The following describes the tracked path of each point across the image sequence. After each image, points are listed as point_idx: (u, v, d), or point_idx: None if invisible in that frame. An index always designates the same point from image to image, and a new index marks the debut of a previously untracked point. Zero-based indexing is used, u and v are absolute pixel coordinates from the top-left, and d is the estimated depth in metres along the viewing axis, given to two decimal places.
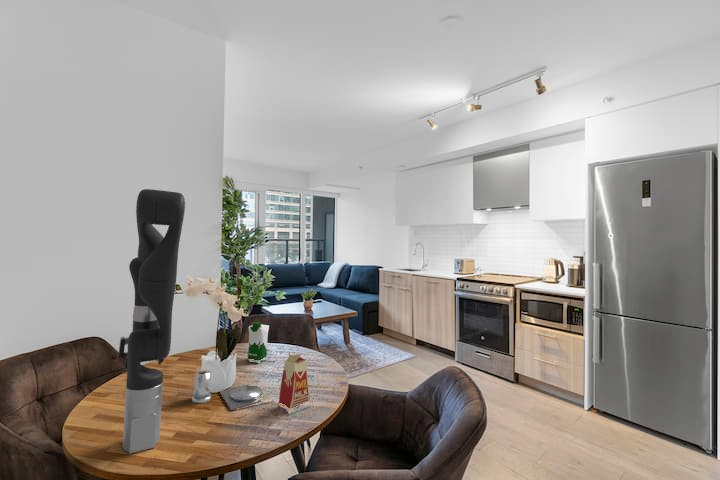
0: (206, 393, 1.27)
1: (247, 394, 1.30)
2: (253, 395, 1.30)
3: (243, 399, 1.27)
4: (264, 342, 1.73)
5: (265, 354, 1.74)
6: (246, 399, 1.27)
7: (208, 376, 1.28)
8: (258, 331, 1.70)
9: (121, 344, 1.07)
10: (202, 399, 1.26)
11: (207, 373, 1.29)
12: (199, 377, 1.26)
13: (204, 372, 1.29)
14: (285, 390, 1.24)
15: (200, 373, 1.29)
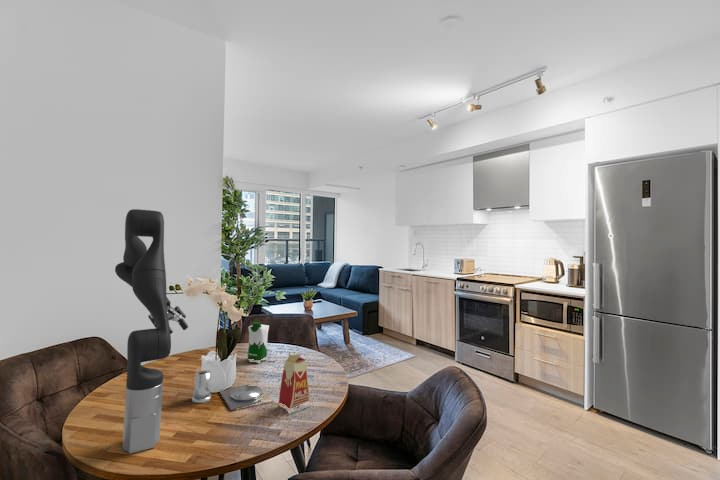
0: (206, 393, 1.27)
1: (247, 394, 1.30)
2: (253, 395, 1.30)
3: (243, 399, 1.27)
4: (264, 342, 1.73)
5: (265, 354, 1.74)
6: (246, 399, 1.27)
7: (208, 376, 1.28)
8: (258, 331, 1.70)
9: None
10: (202, 399, 1.26)
11: (207, 373, 1.29)
12: (199, 377, 1.26)
13: (204, 372, 1.29)
14: (285, 390, 1.24)
15: (200, 373, 1.29)
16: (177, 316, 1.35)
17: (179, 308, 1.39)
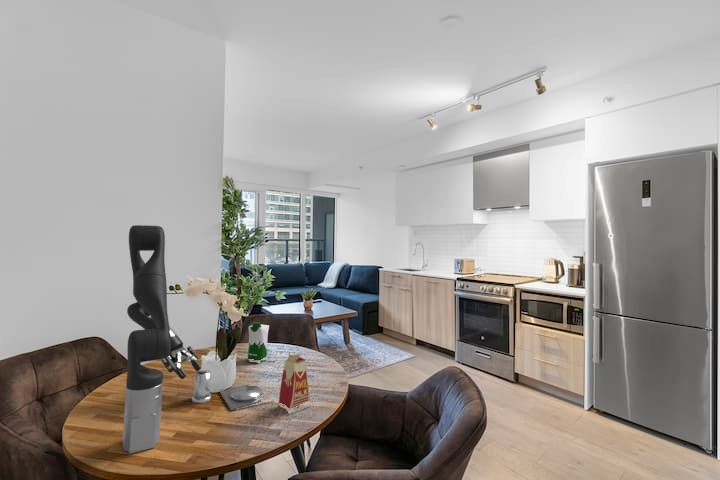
0: (206, 393, 1.27)
1: (247, 394, 1.30)
2: (253, 395, 1.30)
3: (243, 399, 1.27)
4: (264, 342, 1.73)
5: (265, 354, 1.74)
6: (246, 399, 1.27)
7: (208, 376, 1.28)
8: (258, 331, 1.70)
9: (168, 359, 1.25)
10: (202, 399, 1.26)
11: (207, 373, 1.29)
12: (199, 377, 1.26)
13: (204, 372, 1.29)
14: (285, 390, 1.24)
15: (200, 373, 1.29)
16: (190, 357, 1.34)
17: (191, 348, 1.38)
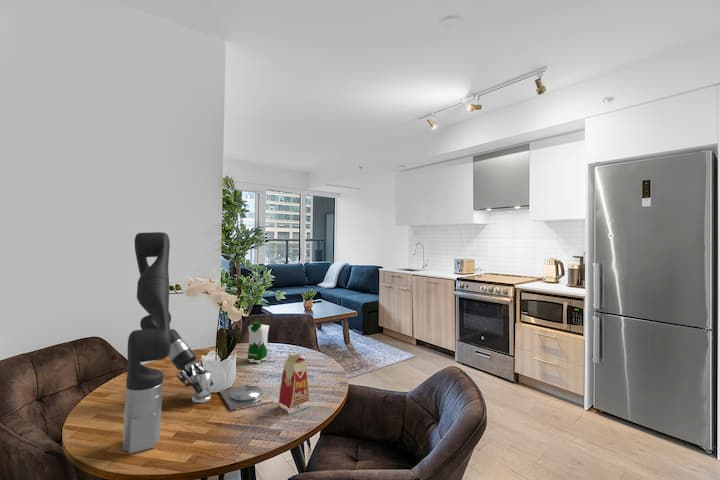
0: (206, 393, 1.27)
1: (247, 394, 1.30)
2: (253, 395, 1.30)
3: (243, 399, 1.27)
4: (264, 342, 1.73)
5: (265, 354, 1.74)
6: (246, 399, 1.27)
7: (208, 376, 1.28)
8: (258, 331, 1.70)
9: (184, 374, 1.24)
10: (202, 399, 1.26)
11: (207, 373, 1.29)
12: (199, 377, 1.26)
13: (204, 372, 1.29)
14: (285, 390, 1.24)
15: (200, 372, 1.29)
16: None
17: None
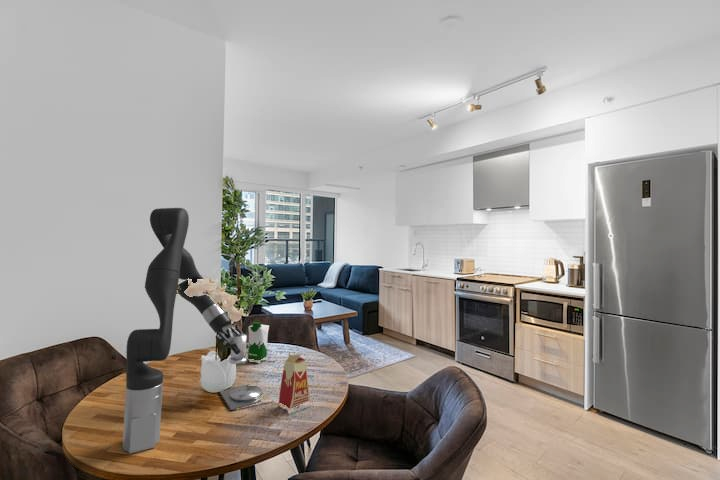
0: (243, 355, 1.31)
1: (247, 394, 1.30)
2: (253, 395, 1.30)
3: (243, 399, 1.27)
4: (264, 342, 1.73)
5: (265, 354, 1.74)
6: (246, 399, 1.27)
7: (245, 338, 1.32)
8: (258, 331, 1.70)
9: (222, 335, 1.27)
10: (239, 360, 1.30)
11: (243, 336, 1.33)
12: (236, 339, 1.30)
13: (240, 335, 1.33)
14: (285, 390, 1.24)
15: (236, 335, 1.32)
16: None
17: (239, 327, 1.40)
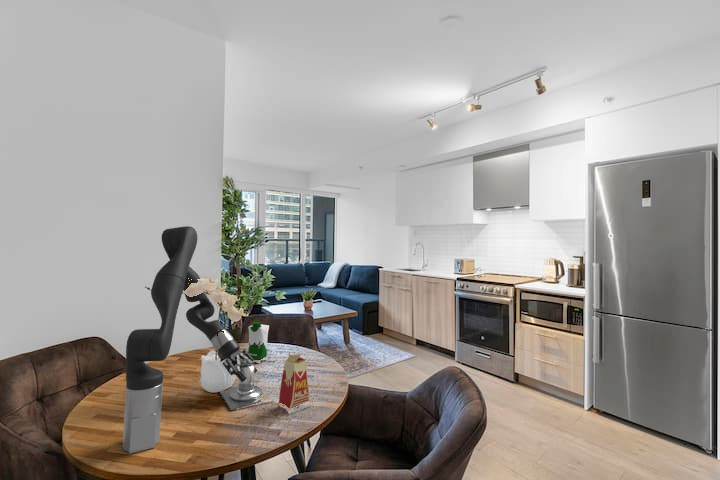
0: (250, 386, 1.31)
1: None
2: (253, 395, 1.30)
3: (243, 399, 1.27)
4: (264, 342, 1.73)
5: (265, 354, 1.74)
6: (246, 399, 1.27)
7: (252, 369, 1.32)
8: (258, 331, 1.70)
9: (229, 362, 1.27)
10: (247, 391, 1.30)
11: (251, 366, 1.32)
12: (244, 370, 1.30)
13: (248, 365, 1.33)
14: (285, 390, 1.24)
15: (244, 366, 1.32)
16: (246, 360, 1.36)
17: (246, 351, 1.40)
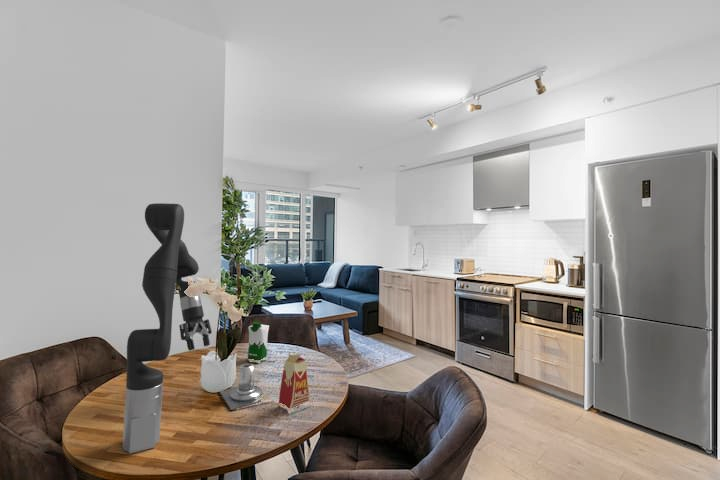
0: (250, 385, 1.31)
1: None
2: (253, 395, 1.30)
3: (243, 399, 1.27)
4: (264, 342, 1.73)
5: (265, 354, 1.74)
6: (246, 399, 1.27)
7: (253, 369, 1.32)
8: (258, 331, 1.70)
9: (185, 327, 1.28)
10: (247, 391, 1.30)
11: (251, 366, 1.33)
12: (244, 370, 1.30)
13: (248, 365, 1.33)
14: (285, 390, 1.24)
15: (244, 366, 1.32)
16: (204, 331, 1.37)
17: None
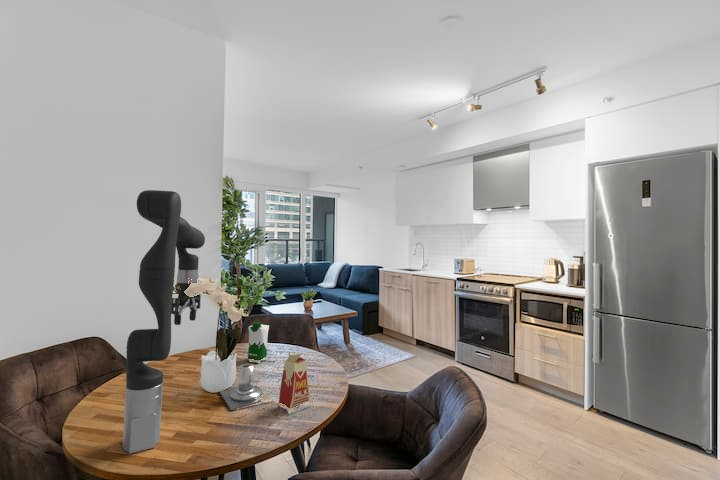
0: (250, 385, 1.31)
1: None
2: (253, 395, 1.30)
3: (243, 399, 1.27)
4: (264, 342, 1.73)
5: (265, 354, 1.74)
6: (246, 399, 1.27)
7: (252, 369, 1.32)
8: (258, 331, 1.70)
9: (177, 302, 1.26)
10: (247, 391, 1.30)
11: (251, 366, 1.32)
12: (244, 370, 1.30)
13: (248, 365, 1.33)
14: (285, 390, 1.24)
15: (244, 366, 1.32)
16: (193, 306, 1.36)
17: None
